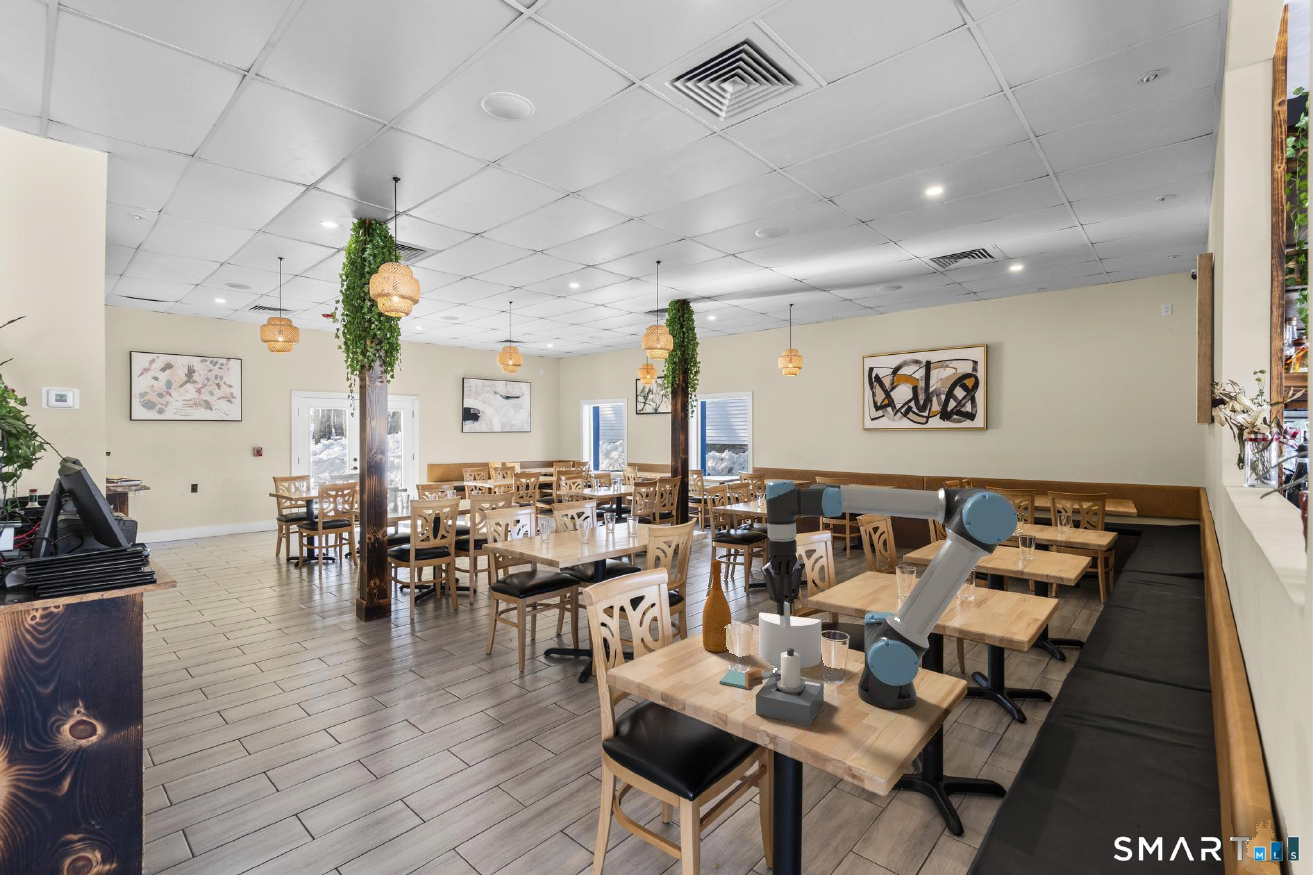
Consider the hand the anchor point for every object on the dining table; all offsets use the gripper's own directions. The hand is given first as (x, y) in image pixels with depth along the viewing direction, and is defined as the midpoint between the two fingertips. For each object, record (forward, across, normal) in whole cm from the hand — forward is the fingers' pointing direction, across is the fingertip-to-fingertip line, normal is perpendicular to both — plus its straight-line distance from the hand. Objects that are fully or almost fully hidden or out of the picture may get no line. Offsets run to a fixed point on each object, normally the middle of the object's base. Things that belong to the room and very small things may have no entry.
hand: (785, 626), depth 162 cm
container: (+22, -22, -30) cm, 43 cm away
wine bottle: (+21, -3, -46) cm, 51 cm away
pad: (+21, +3, -20) cm, 29 cm away
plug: (+21, 0, 0) cm, 21 cm away
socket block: (+21, 0, 0) cm, 21 cm away
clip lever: (+16, +2, -5) cm, 17 cm away
